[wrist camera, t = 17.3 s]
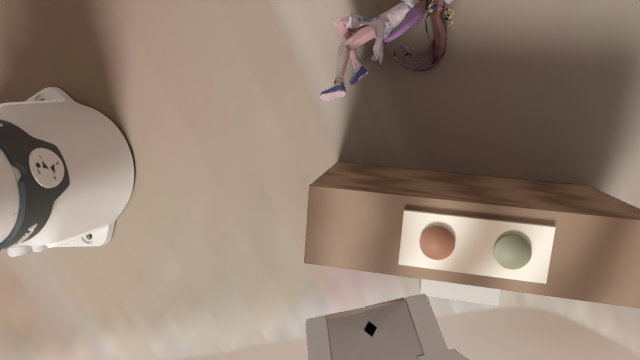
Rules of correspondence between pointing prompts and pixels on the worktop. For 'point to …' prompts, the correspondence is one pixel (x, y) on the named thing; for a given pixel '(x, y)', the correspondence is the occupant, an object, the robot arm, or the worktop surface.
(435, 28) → the figurine
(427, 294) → the key middle
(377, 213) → the keypad console
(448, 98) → the worktop surface
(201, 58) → the worktop surface
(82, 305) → the worktop surface
